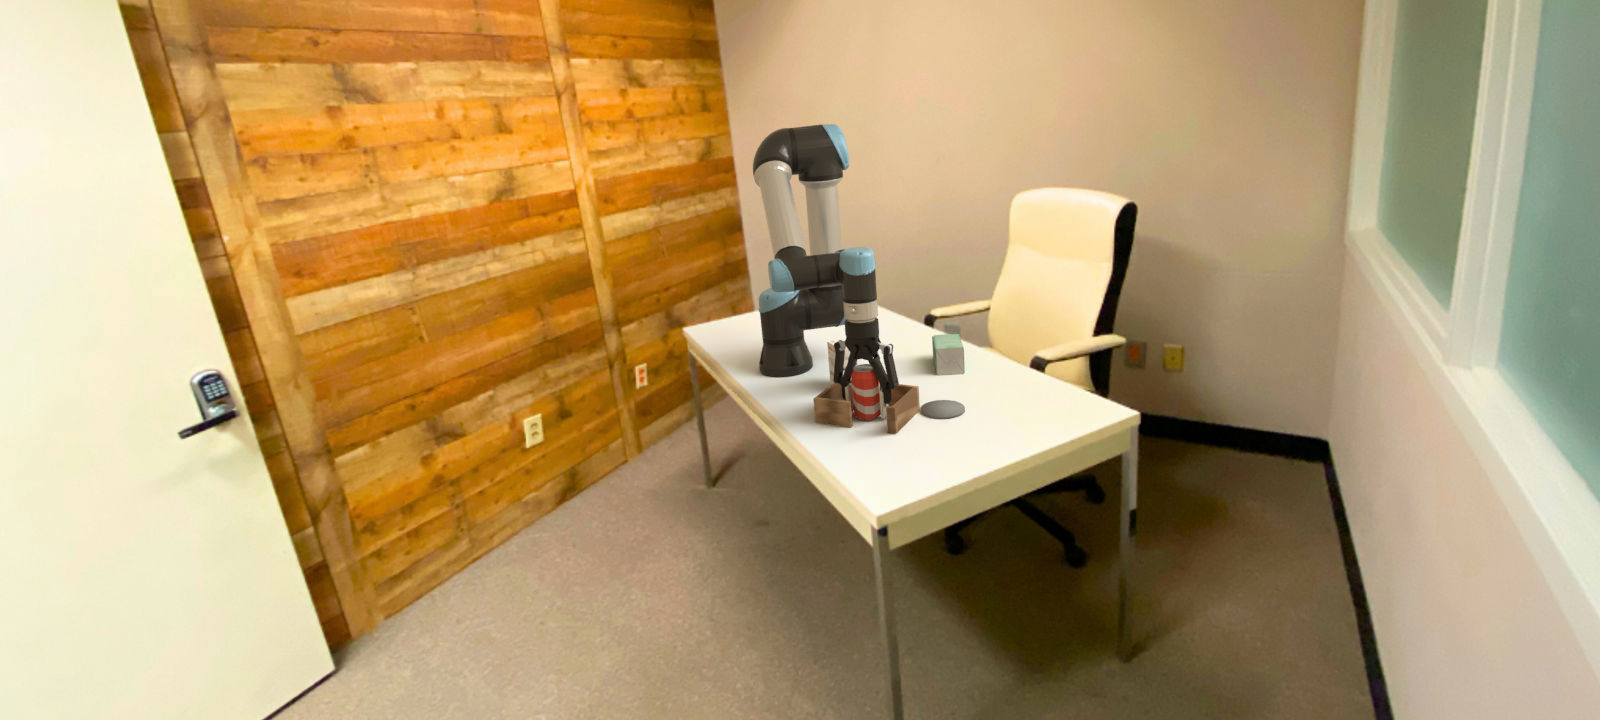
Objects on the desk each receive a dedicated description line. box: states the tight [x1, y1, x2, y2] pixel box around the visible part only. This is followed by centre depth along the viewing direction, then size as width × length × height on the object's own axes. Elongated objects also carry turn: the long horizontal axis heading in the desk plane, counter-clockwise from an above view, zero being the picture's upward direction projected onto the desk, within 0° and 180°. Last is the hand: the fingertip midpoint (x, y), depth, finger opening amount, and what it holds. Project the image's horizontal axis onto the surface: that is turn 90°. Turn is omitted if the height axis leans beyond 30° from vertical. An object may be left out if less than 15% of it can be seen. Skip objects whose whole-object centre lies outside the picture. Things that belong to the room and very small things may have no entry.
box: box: [931, 333, 966, 376], centre depth 199 cm, size 7×14×8 cm, turn 174°
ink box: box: [826, 338, 858, 386], centre depth 190 cm, size 8×5×12 cm, turn 20°
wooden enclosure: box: [813, 379, 921, 435], centre depth 171 cm, size 20×14×6 cm
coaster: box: [920, 399, 966, 420], centre depth 171 cm, size 10×10×1 cm
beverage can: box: [851, 363, 881, 421], centre depth 170 cm, size 6×6×12 cm
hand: (867, 413), depth 172 cm, fingers open, 8 cm apart
